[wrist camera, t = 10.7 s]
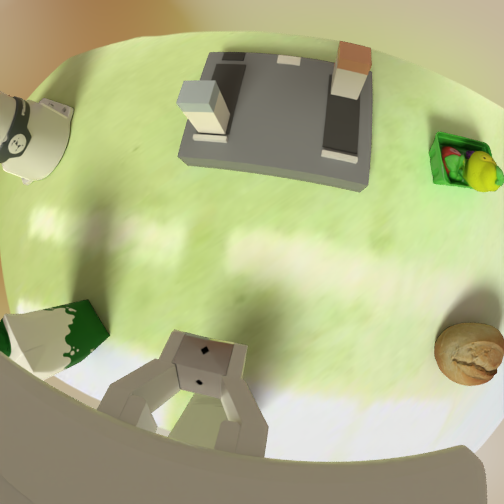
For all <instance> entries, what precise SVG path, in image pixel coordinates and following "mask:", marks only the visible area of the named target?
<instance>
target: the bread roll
mask: <svg viewBox="0 0 504 504" xmlns="http://www.w3.org/2000/svg"><path fill="white" fill-rule="evenodd" d="M434 354H435V359H436V361H437V364H438V366H439V368H440V370H441V371H442V372H443V373H444V374H445V375H446V376H447V377H448V378H449V379H450V380H452V381H454V382H456V383H458V384H462V385H467V386H473V385H480V384H483V383H486V382H488V381H490V380H491V379H492V378H493V376H494V375H495V374H496V373H497V368H498V366H499V365H500V364H501V363H502V359H503V356H504V338H503V336H502V334H501V333H500V331H499V330H498V329H496V328H495V327H493V326H491V325H487V324H482V323H460V324H456V325H453V326H450V327H448V328H447V329H446V330H444V331H443V332H442V334H441V335H440V336H439V337H438V339H437V341H436V342H435V350H434Z"/></svg>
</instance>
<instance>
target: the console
mask: <svg viewBox="0 0 504 504" xmlns="http://www.w3.org/2000/svg"><path fill="white" fill-rule="evenodd" d="M334 66H335V63H333V62H328V61H322V60H316V59H310V58H303V57H295V56H287V55H277V54H264V53H245V52H210V53H209V55H208V58H207V61H206V64H205V66H204V69H203V72H202V75H201V78H200V81H202V80H211V81H216V83H217V85H218V87H219V90H220V92H221V94H222V96H223V99H224V101H225V103H226V106H227V108H228V110H229V113H230V117H229V121H228V125H227V130H226V134H213V133H198V131H197V130H196V129H195V127H194V126H193V125H192V123H191V122H190V121H189V119H188V120H187V123H186V127H185V130H184V134H183V138H182V141H181V145H180V149H179V153H178V157H179V158H180V159H181V160H182V161H183V162H184V163H185V164H187V165H188V166H199V167H208V168H218V169H226V170H235V171H242V172H250V173H257V174H264V175H271V176H277V177H283V178H289V179H295V180H301V181H307V182H312V183H317V184H323V185H328V186H333V187H338V188H342V189H347V190H352V191H356V192H361V191H362V190H363V189H364V188H366V187H367V186H368V181H369V170H370V157H371V139H372V71H369V73H368V76H367V78H366V80H365V83H364V85H363V87H362V90H361V92H360V94H359V97H358V99H357V100H355V99H351V98H347V97H342V96H337V95H332V94H331V83H332V75H333V70H334Z"/></svg>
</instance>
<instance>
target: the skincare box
mask: <svg viewBox="0 0 504 504" xmlns="http://www.w3.org/2000/svg"><path fill="white" fill-rule="evenodd" d="M224 420H227V421H228V418H227V415H226V413H225V410H224V408H223V405H222V402H221V399H219V398H215V397H211V396H207V395H203V394H199V393H194V395H193V397H192V398H191V400H190V402H189V403H188V405H187V407H186V408H185V410H184V412H183V413H182V415H181V417H180V418H179V420H178V421H177V423H176V425H175V426H174V428H173V429H172V431H171V433H170V434H169V436H168V437H169V438H172V439H176V440H179V441H183V442H186V443H190V444H194V445H198V446H202V447H206V448H211V449H214V447H215V443H216V439H217V436H218V432H219V428H220V424H221V422H223V421H224Z"/></svg>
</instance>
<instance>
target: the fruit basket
mask: <svg viewBox="0 0 504 504" xmlns="http://www.w3.org/2000/svg"><path fill="white" fill-rule="evenodd" d="M429 156H430V158H431V159H430V163H431V170H432V174H433V176H434V177H433V183H434V184H439V185H448V186H458V187H464V188H471V189H475V190H477V191H479V192H488V191H496V190H497V189H498V188H499V187H500V186H502V185H503V183H504V175H503V172H502V170H501V169H500V168H499V167H498V166H497V164H496V162H495V161H494V159H493V158H492V154H491V150H490V147H489V146H488V144H487V143H484V142H480V141H477V140H473V139H469V138H465V137H461V136H457V135H452V134H448V133H444V132H437V133H436V136H435V140H434V142H433V144H432V147H431V149H430V151H429Z"/></svg>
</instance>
